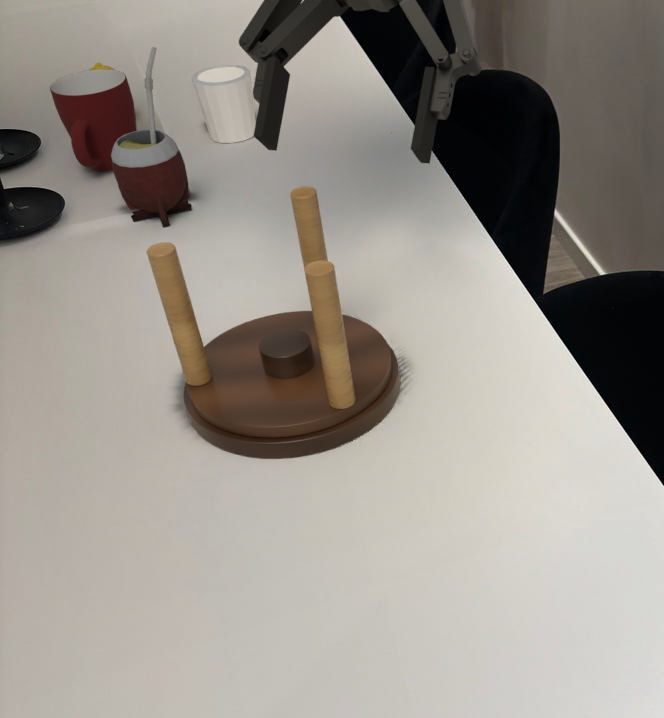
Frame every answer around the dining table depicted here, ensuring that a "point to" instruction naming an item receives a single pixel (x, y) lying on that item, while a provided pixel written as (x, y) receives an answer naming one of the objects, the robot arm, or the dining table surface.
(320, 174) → the dining table surface
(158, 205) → the mate gourd
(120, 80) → the mug
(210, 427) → the rack base
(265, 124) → the robot arm
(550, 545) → the dining table surface
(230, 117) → the shot glass
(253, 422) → the rack turntable
